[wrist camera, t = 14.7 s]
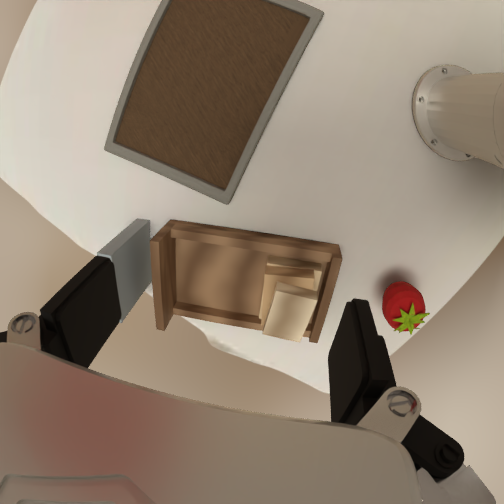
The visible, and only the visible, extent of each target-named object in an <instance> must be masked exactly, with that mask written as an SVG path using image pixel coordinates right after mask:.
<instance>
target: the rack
mask: <svg viewBox="0 0 504 504" xmlns="http://www.w3.org/2000/svg"><path fill="white" fill-rule="evenodd" d="M269 255H271V256H277V257H284V258H290V259H297V260H303V261H310V262H316V263H321V268H322V274H321V278H320V282H319V285H318V289H317V300H318V301H317V303H316V306H315V308H314V310H313V313H312V315H311V318H310V320H309V323H308V326H307V327H306V329H305V332H304V334H303V337H309V342H314V343H318V340H319V336H320V333H321V330H322V327H323V324H324V321H325V318H326V314H327V311H328V308H329V305H330V301H331V298H332V294H333V291H334V288H335V284H336V281H337V277H338V273H339V270H340V266H341V262H342V255H341V252H340V248H339V245H337V244H331V243H325V242H318V241H312V240H306V239H300V238H293V237H287V236H280V235H274V234H267V233H261V232H254V231H248V230H241V229H234V228H227V227H220V226H213V225H206V224H199V223H192V222H185V221H178V220H170V221H169V222H168V223H167V224H166V225H165V226H164V227H163V228H162V229H161V230H160V231H159V232H158V233H157V234H156V235H155V236H154V237H153V238H152V239H151V240H150V256H151V272H152V285H153V297H154V307H155V318H156V327H157V329H159V330H163V331H164V330H165V329H166V327H167V325H168V323H169V321H170V319H171V317H172V316H173V314H175V315H180V316H185V317H190V318H195V319H200V320H205V321H210V322H215V323H221V324H226V325H232V326H238V327H243V328H249V329H255V330H262V331H263V327H264V326H263V325H261V319H259V313H260V307H261V300H262V294H263V287H264V275H265V269H266V265H267V261H268V256H269Z"/></svg>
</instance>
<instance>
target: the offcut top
mask: <svg viewBox="0 0 504 504" xmlns="http://www.w3.org/2000/svg"><path fill="white" fill-rule="evenodd" d="M317 301H318V300H317V291H314V290H310V289H306V288H302V287H298V286H294V285H290V284H285V283H281V282H277V284H276V288H275V291H274V294H273V297H272V300H271V304H270V307H269V310H268V313H267V316H266V319H265V323H264V327H263V334H265V335H269V336H273V337H277V338H282V339H286V340H291V341H295V342H300V341H301V339H302V336H303V334H304V332H305V329H306V327H307V325H308V322H309V320H310V318H311V315H312V313H313V310H314V308H315V306H316V303H317Z"/></svg>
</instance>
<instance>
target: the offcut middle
mask: <svg viewBox="0 0 504 504" xmlns="http://www.w3.org/2000/svg"><path fill="white" fill-rule="evenodd" d="M314 279H315V278H314V270H312V269H301V268H290V267H279V266H269V265H266V269H265V275H264V290H263V305H262V319H261V325H263V326H264V323H265V319H266V316H267V313H268V310H269V307H270V304H271V300H272V297H273V294H274V291H275V288H276V284H277V282H281V283H285V284H290V285H294V286H298V287H302V288H306V289H310V290H313V285H314Z"/></svg>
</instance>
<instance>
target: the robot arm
mask: <svg viewBox="0 0 504 504" xmlns="http://www.w3.org/2000/svg"><path fill="white" fill-rule="evenodd" d="M442 71H443V73H442ZM418 98H420V101H418ZM413 116H414V121H415V124H416V127H417V129H418V131H419V133H420V135H421V137H422V139H423V140H424V141H425V143H426V144H427V145H428V146H429V147H430V148H431V149H432V150H433V151H434V152H436V153H437V154H438V155H440V156H442V157H444V158H447V159H450V160H453V161H466V160H469V159H472V158H474V157H477V158H479V159H482V160H484V161H486V162H489V163H491V164H494V165H496V166H498V167H500V168H503V169H504V73H484V74H472V73H471V72H469V71H467V70H465V69H464V68H461V67H458V66H455V65H442V66H437V67H434V68H432V69H430V70H429V71H427V72H426V73H425V74H424V75H423V76H422V77H421V79H420V80H419V82H418V83H417V86H416V88H415V91H414V95H413ZM432 140H433V143H431V141H432ZM40 312H41V315H40V316H39V317H38V316H37V315H36V314H35V313H31V312H24V313H20V314H18V315H16V316H15V317H14V318H12V319H11V321H10V322H9V324H8V331H5V332H1V333H0V504H496V501H495V499H494V496H493V495H492V494H491V493H490V491H489V490H488V489H487V487H486V486H485V485H484V483H483V482H482V481H481V480H480V478H479V477H478V476H477V474H476V473H475V472H474V470H473V469H472V468H471V467H470V465H469V466H468V467H466V466H465V465H464V464H463V461H464V452H463V449H462V447H461V446H460V444H459V443H458V442H457V441H455V440H454V439H453V438H451V437H450V436H448V435H447V434H446V433H444V432H443V431H442V430H440V429H439V428H437V427H436V426H435V425H433V424H432V423H431V422H429V421H428V420H426V419H425V418H424V417H422V416H421V415H420V412H421V402H420V400H419V398H418V397H417V395H416V394H415V393H414V392H412V391H411V390H409V389H407V388H404V387H397V386H396V382H395V378H394V374H393V370H392V366H391V363H390V359H389V355H388V351H387V348H386V344H385V340H384V338H383V336H380V335H378V334H377V330H376V326H375V323H374V319H373V316H372V312H371V309H370V306H369V302H368V301H367V300H361V299H353V300H352V301H351V302H347V303H346V306H345V309H344V312H343V315H342V318H341V321H340V324H339V326H338V329H337V332H336V335H335V338H334V340H333V343H332V346H331V348H330V351H329V355H328V367H329V383H330V401H331V422H328V421H320V420H310V419H302V418H294V417H285V416H279V415H272V414H265V413H258V412H252V411H246V410H240V409H235V408H230V407H224V406H219V405H214V404H210V403H205V402H200V401H196V400H192V399H188V398H183V397H179V396H175V395H171V394H167V393H164V392H160V391H156V390H153V389H149V388H146V387H142V386H139V385H136V384H133V383H129V382H126V381H123V380H119V379H117V378H114V377H110V376H107V375H105V374H102V373H99V372H96V371H93V370H90V369H88V367H89V366H90V364H91V363H92V361H93V359H94V358H95V357H96V355H97V353H98V352H99V351H100V349H101V348H102V346H103V345H104V343H105V342H106V340H107V339H108V337H109V336H110V334H111V333H112V332H113V330H114V329H115V327H116V326H117V325H118V323H119V322H120V320H121V316H122V313H121V307H120V301H119V295H118V288H117V282H116V274H115V267H114V263H113V262H111V259H110V258H108V257H103V256H95V257H94V258H93V259H92V260H91V261H90V262H89V263H88V264H87V265H86V266H84V267H83V268H82V269H81V270H80V271H79V272H78V273H77V274H76V275H75V276H74V277H73V278H72V279H71V280H70V281H68V282H67V283H66V285H64V286H63V287H62V288H61V289H60V290H59V291H58V292H57V293H56V294H55V295H54V296H53V297H52V298H51V299H50V300H49V301H48V302H47V303H46V304H45V305H44V306H43V307H42V308H41V309H40ZM422 500H423V501H422Z"/></svg>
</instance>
